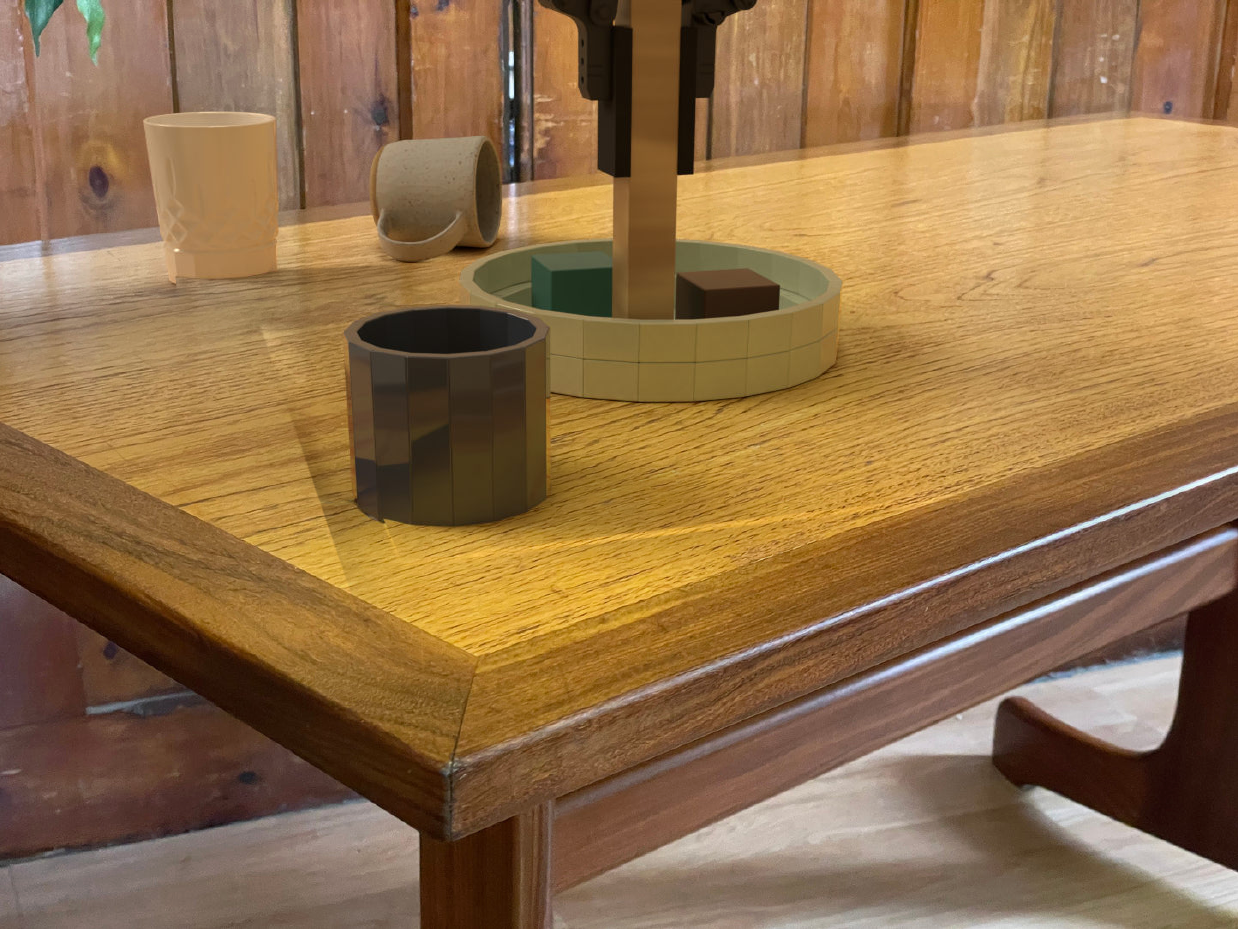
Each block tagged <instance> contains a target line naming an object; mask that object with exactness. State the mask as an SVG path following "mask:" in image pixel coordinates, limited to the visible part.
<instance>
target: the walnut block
mask: <svg viewBox="0 0 1238 929" xmlns="http://www.w3.org/2000/svg"><path fill="white" fill-rule="evenodd" d="M779 299H780V285H779V284H777V283H775V282H773V281H771V280H769V279H767V278H765V277H763V276H762V275H760V274H758V273H756V272H754V271H752V270H750V269H748V268H744V269H727V270H711V271H694V272H678V273H677V274H676V307H675V320H694V319H708V318H722V317H736V316H744V315H751V314H757V313H763V312H769V311H775V310H779Z"/></svg>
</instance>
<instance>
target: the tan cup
mask: <svg viewBox="0 0 1238 929" xmlns="http://www.w3.org/2000/svg"><path fill="white" fill-rule="evenodd" d="M142 126H143V131H144V137H145V143H146V151H147V158H148V165H149V171H150V178H151V179H150V180H151V185H152V191H153V197H154V202H155V208H156V212H157V213H156V214H157V220H158V226H159V232H160V236H161V238H162V241H163V242H164V246H163V247H164V253H165V261H166V262H165V263H166V267H167V275H168V280H169V281H170V282H171V283H173V284H175V285H177V278H176V277H183V278H189V279H200V280H201V279H205V280H207V279H208V280H209V279H211V280H223V279H225V280H226V279H236V278H246V277H247V278H248V277H252V276H257V275H261V274H266V273H268V272H277V271H278V253H277V252H278V251H277V249H278V248H277V243H278V240H277V237H278V235H279V223H278V222H279V220H278V219H279V182H278V181H279V178H278V142H277V141H278V140H277V139H278V138H277V117H275V116H273V115H272V114H271V115H270V114H265V113H258V112H246V111H245V112H244V111H189V112H176V113H175V112H174V113H166V114H157V115H152V116H149V117H145V118H144V119H143V120H142Z"/></svg>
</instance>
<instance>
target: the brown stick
mask: <svg viewBox="0 0 1238 929" xmlns="http://www.w3.org/2000/svg"><path fill="white" fill-rule="evenodd" d="M681 8H682V0H618V6H617V14H616V18H615V20H614V25H615V26H620V27H627V28H633V53H632V128H631V177H623V178H615V177H613V176H612V238H613V273H612V318H623V319H638V320H674V292H675V251H676V239H677V210H678V209H677V207H678V175H677V167H678V125H679V84H680V43H681Z"/></svg>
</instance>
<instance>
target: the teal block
mask: <svg viewBox="0 0 1238 929" xmlns="http://www.w3.org/2000/svg"><path fill="white" fill-rule="evenodd" d="M612 273H613V258H611V257H610V256H608V255H607V254H605V253H604V252H602V251H596V252H577V253H559V254H541V255H532V256H531V292H532V308H537V309H541V310H548V311H555V312H562V313H569V314H577V315H584V316H592V317H607V318H612Z"/></svg>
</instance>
